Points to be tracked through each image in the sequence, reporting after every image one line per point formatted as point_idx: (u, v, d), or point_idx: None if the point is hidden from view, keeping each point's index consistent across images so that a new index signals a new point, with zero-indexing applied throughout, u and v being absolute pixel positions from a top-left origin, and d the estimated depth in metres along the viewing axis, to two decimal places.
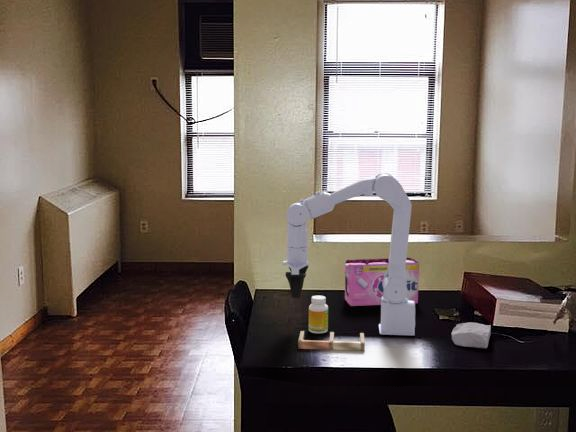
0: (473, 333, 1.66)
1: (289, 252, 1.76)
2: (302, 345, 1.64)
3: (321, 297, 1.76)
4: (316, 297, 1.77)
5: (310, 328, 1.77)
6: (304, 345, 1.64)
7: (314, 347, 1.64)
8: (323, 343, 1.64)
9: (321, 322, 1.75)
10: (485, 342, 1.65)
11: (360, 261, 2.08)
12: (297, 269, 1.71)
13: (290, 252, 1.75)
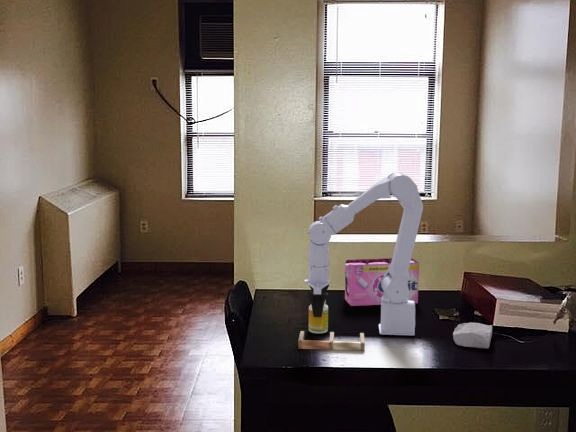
0: (475, 333, 1.66)
1: (310, 271, 1.74)
2: (302, 345, 1.64)
3: None
4: None
5: (310, 328, 1.77)
6: (304, 345, 1.64)
7: (314, 347, 1.64)
8: (323, 343, 1.64)
9: (321, 322, 1.75)
10: (487, 342, 1.65)
11: (360, 261, 2.08)
12: (319, 289, 1.69)
13: (312, 271, 1.74)
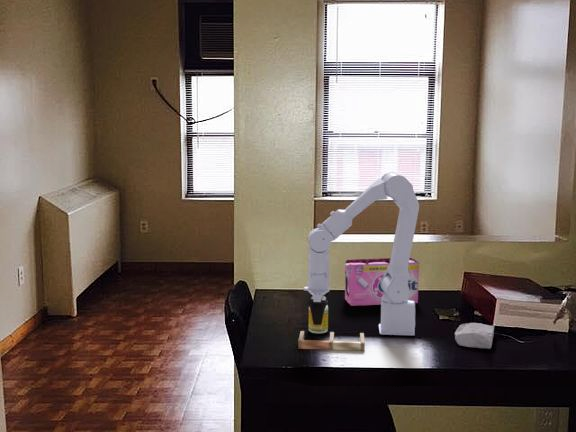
0: (477, 333, 1.66)
1: (310, 278, 1.73)
2: (302, 345, 1.64)
3: (321, 297, 1.76)
4: None
5: (310, 328, 1.77)
6: (304, 345, 1.64)
7: (314, 347, 1.64)
8: (323, 343, 1.64)
9: None
10: (489, 342, 1.64)
11: (360, 261, 2.08)
12: (319, 296, 1.68)
13: (312, 278, 1.73)
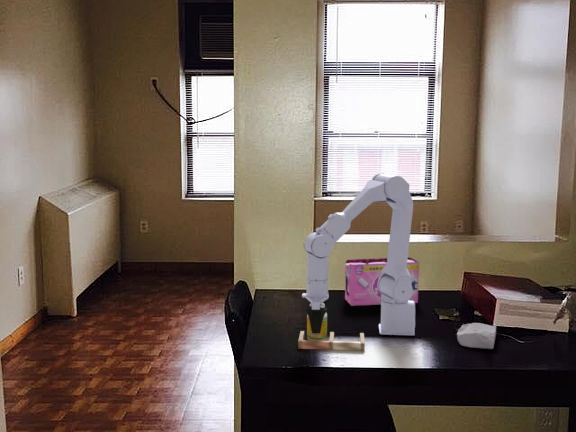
0: (479, 334, 1.65)
1: (308, 285, 1.67)
2: (302, 345, 1.64)
3: (320, 304, 1.70)
4: None
5: (308, 336, 1.70)
6: (304, 345, 1.64)
7: (314, 347, 1.64)
8: (323, 343, 1.64)
9: None
10: (491, 343, 1.64)
11: (360, 261, 2.08)
12: (318, 304, 1.62)
13: (310, 285, 1.66)
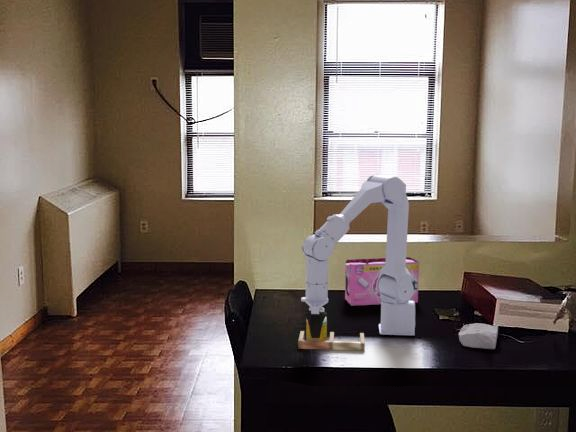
0: (481, 334, 1.65)
1: (308, 288, 1.63)
2: (302, 345, 1.64)
3: (320, 308, 1.66)
4: None
5: None
6: (304, 345, 1.64)
7: (314, 347, 1.64)
8: (323, 343, 1.64)
9: None
10: (493, 343, 1.64)
11: (360, 261, 2.08)
12: (317, 308, 1.58)
13: (309, 289, 1.63)
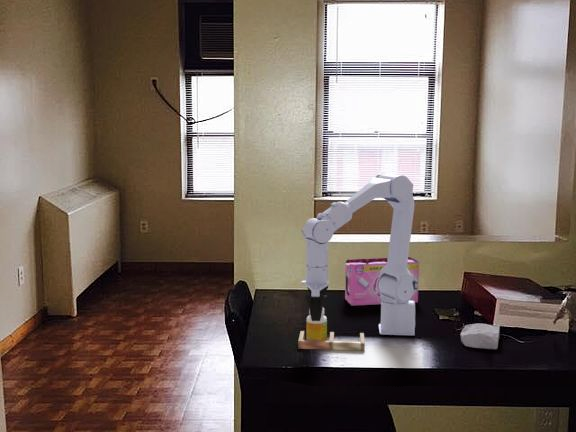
0: (483, 334, 1.65)
1: (308, 271, 1.62)
2: (302, 345, 1.64)
3: None
4: None
5: None
6: (304, 345, 1.64)
7: (314, 347, 1.64)
8: (323, 343, 1.64)
9: (319, 335, 1.65)
10: (495, 343, 1.64)
11: (360, 261, 2.08)
12: (318, 291, 1.57)
13: (309, 272, 1.62)
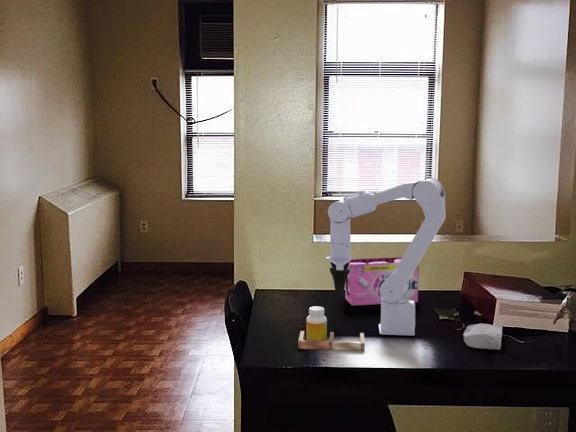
0: (486, 334, 1.65)
1: (332, 248, 1.79)
2: (302, 345, 1.64)
3: (320, 308, 1.66)
4: (314, 308, 1.66)
5: None
6: (304, 345, 1.64)
7: (314, 347, 1.64)
8: (323, 343, 1.64)
9: (319, 334, 1.65)
10: (498, 343, 1.64)
11: (360, 260, 2.09)
12: (342, 265, 1.74)
13: (334, 248, 1.79)
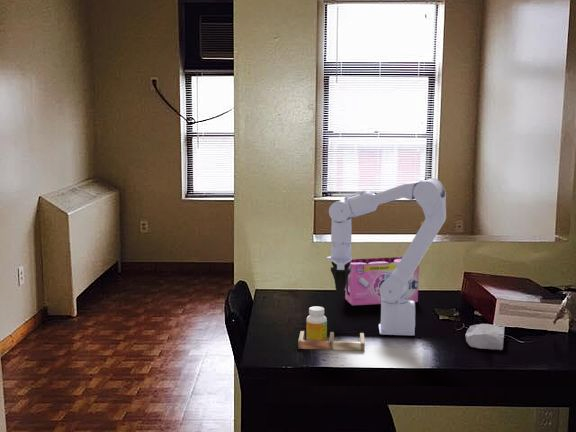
0: (488, 335, 1.65)
1: (333, 248, 1.80)
2: (302, 345, 1.64)
3: (320, 308, 1.66)
4: (314, 308, 1.66)
5: None
6: (304, 345, 1.64)
7: (314, 347, 1.64)
8: (323, 343, 1.64)
9: (319, 334, 1.65)
10: (500, 344, 1.63)
11: (360, 260, 2.09)
12: (343, 264, 1.75)
13: (335, 248, 1.79)
